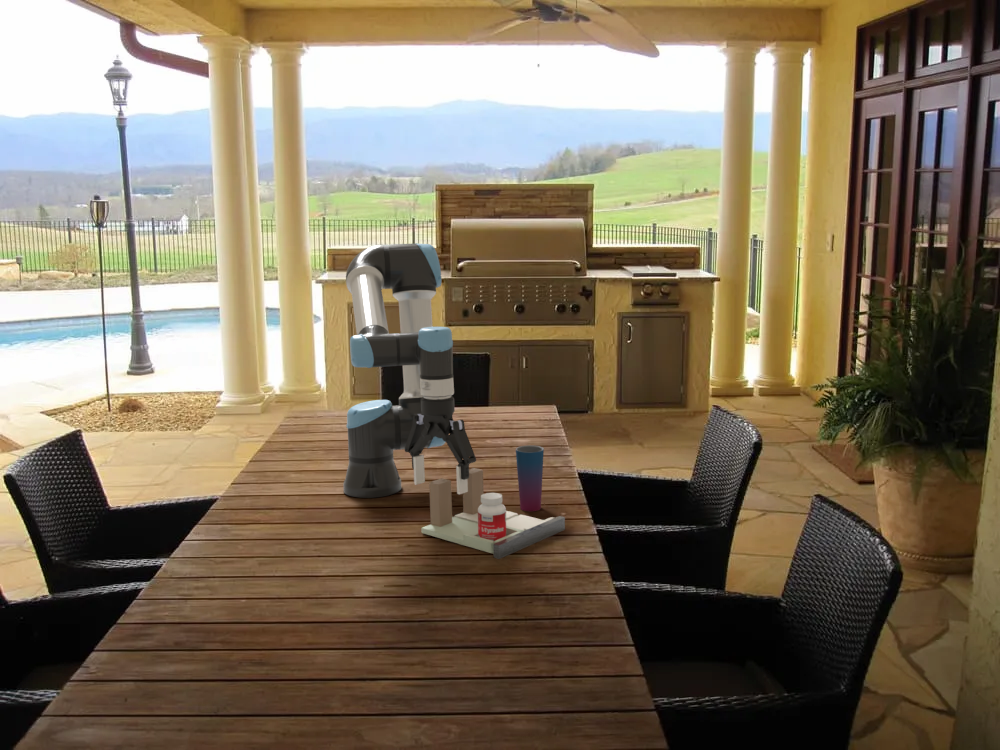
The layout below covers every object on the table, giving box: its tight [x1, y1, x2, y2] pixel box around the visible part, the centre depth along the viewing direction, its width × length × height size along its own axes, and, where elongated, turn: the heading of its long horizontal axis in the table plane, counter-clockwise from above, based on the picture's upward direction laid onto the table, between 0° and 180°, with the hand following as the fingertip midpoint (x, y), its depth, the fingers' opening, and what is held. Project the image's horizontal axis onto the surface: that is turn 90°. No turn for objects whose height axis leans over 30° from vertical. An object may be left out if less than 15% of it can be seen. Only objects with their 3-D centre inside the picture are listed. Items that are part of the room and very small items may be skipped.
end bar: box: [493, 515, 566, 560], centre depth 207 cm, size 2×23×3 cm, turn 140°
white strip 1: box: [454, 467, 519, 523], centre depth 222 cm, size 11×10×11 cm
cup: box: [515, 444, 545, 512], centre depth 230 cm, size 7×7×15 cm
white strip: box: [506, 514, 555, 531], centre depth 215 cm, size 10×10×2 cm
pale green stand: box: [421, 477, 523, 555], centre depth 210 cm, size 22×10×11 cm, turn 49°
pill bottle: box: [478, 492, 507, 541], centre depth 206 cm, size 6×6×11 cm
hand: (440, 488), depth 215 cm, fingers open, 13 cm apart
